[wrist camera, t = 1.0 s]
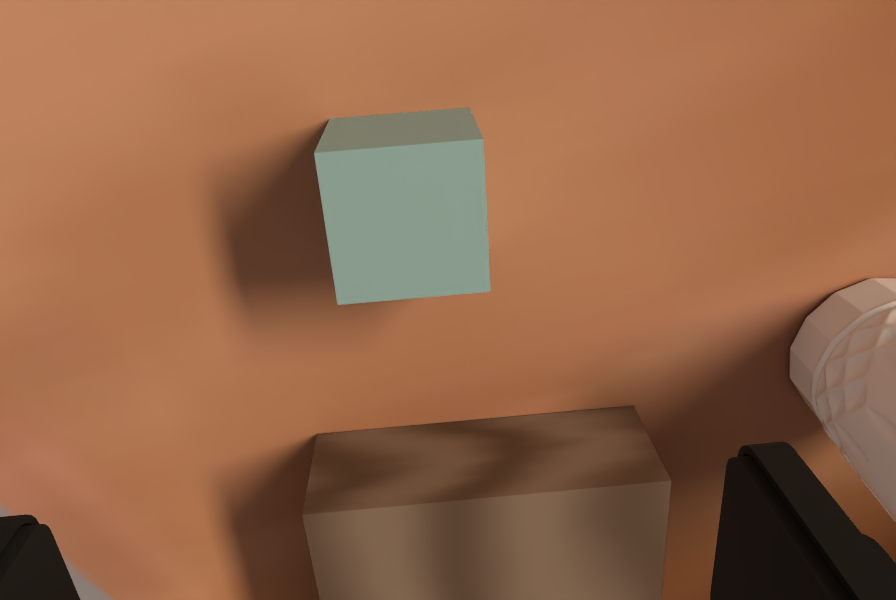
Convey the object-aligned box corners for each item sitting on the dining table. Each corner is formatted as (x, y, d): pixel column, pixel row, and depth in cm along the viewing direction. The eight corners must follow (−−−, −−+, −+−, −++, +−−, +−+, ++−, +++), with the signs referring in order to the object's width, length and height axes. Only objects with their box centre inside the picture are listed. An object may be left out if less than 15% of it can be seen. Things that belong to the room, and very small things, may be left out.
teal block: (469, 106, 25) (483, 138, 21) (476, 237, 28) (490, 291, 23) (330, 118, 25) (313, 153, 21) (348, 248, 27) (337, 304, 23)
